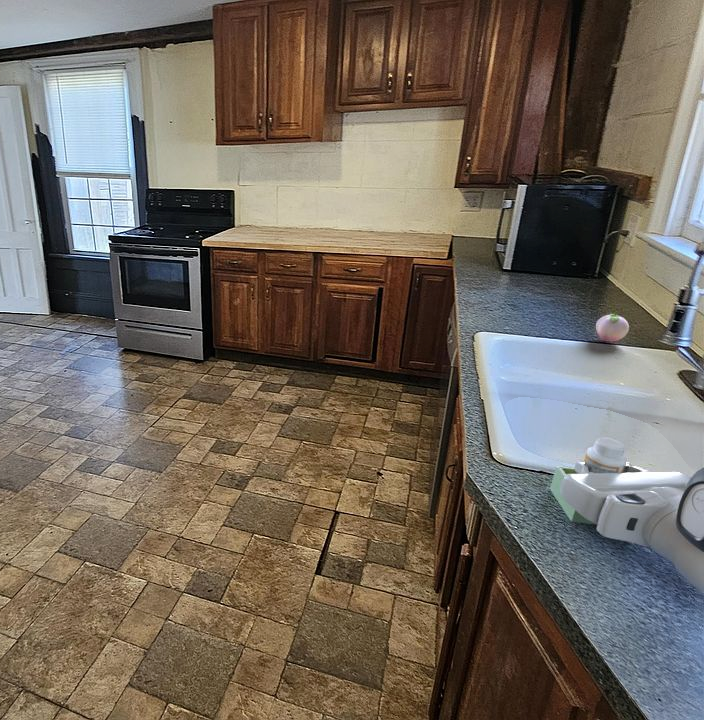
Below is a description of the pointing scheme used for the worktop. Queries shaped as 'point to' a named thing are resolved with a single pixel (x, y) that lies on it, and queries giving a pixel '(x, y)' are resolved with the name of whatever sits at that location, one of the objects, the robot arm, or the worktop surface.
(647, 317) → the worktop surface
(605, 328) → the decorative fruit
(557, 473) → the bin
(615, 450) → the supplement bottle
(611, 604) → the worktop surface
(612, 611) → the worktop surface
